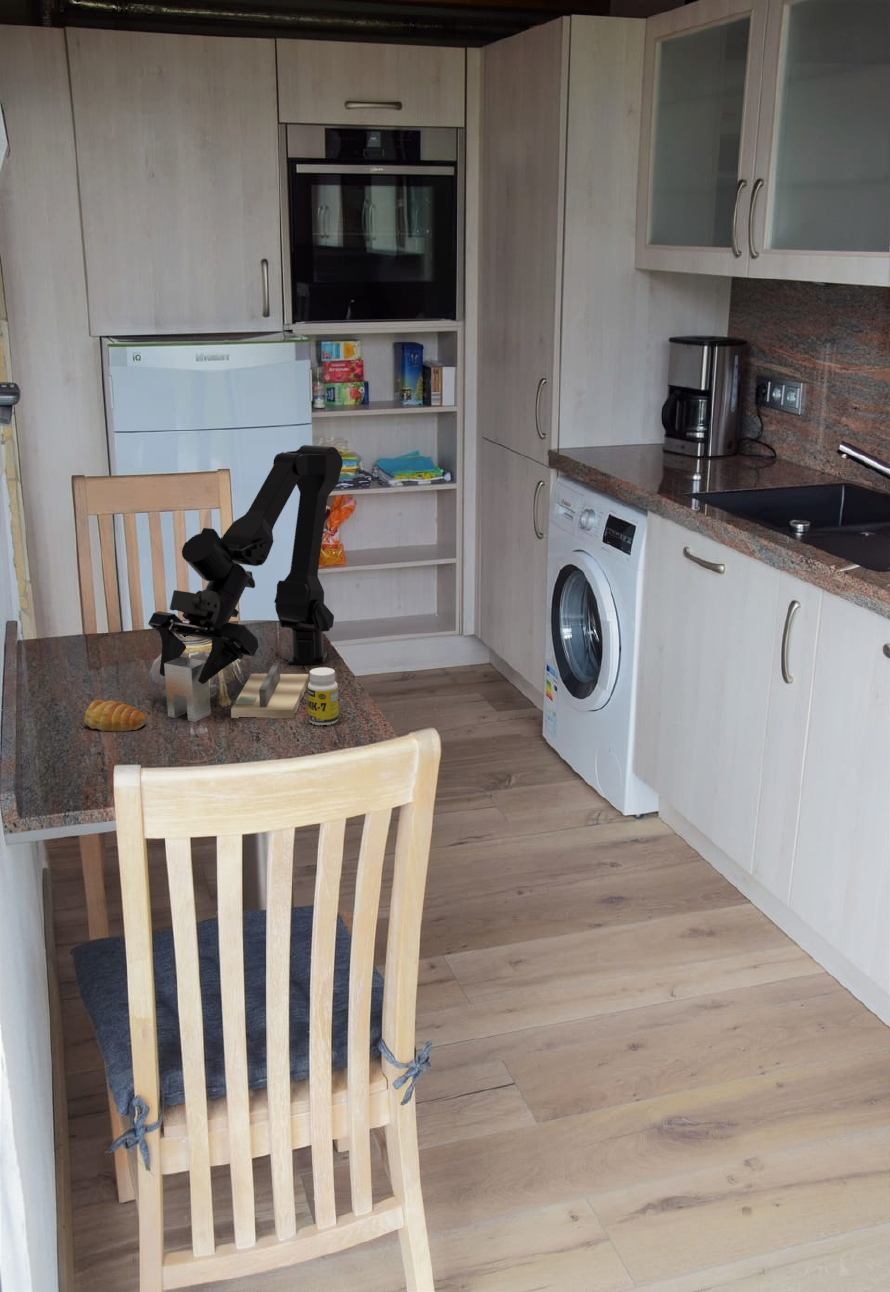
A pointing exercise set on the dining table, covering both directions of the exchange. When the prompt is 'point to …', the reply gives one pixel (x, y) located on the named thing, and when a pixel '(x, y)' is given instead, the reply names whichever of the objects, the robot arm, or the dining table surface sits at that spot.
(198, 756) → the dining table surface
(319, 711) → the supplement bottle
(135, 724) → the pastry
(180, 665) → the clip
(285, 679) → the rack
